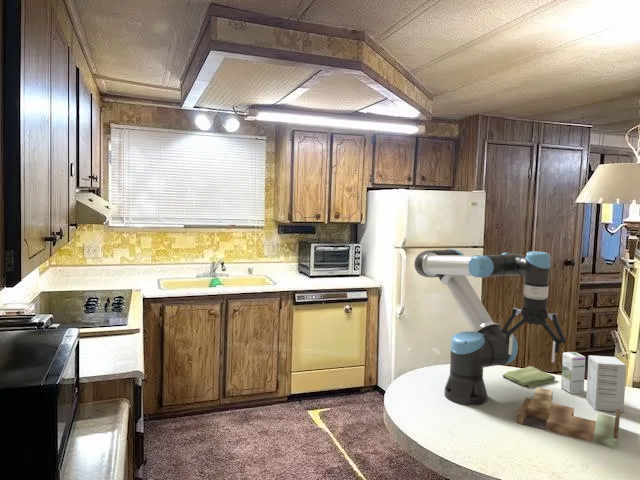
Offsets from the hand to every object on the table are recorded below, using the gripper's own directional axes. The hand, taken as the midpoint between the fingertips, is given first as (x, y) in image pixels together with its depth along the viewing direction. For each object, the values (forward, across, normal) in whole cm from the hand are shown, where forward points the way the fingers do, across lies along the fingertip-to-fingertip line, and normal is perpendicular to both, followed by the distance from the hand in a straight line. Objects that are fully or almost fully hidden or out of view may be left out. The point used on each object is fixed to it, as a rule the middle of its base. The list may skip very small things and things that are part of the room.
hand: (531, 357), depth 162 cm
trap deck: (+18, +13, -6) cm, 23 cm away
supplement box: (+19, +23, +17) cm, 34 cm away
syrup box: (+19, +13, +26) cm, 35 cm away
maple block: (+16, +5, -2) cm, 16 cm away
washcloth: (+20, -3, +30) cm, 36 cm away
